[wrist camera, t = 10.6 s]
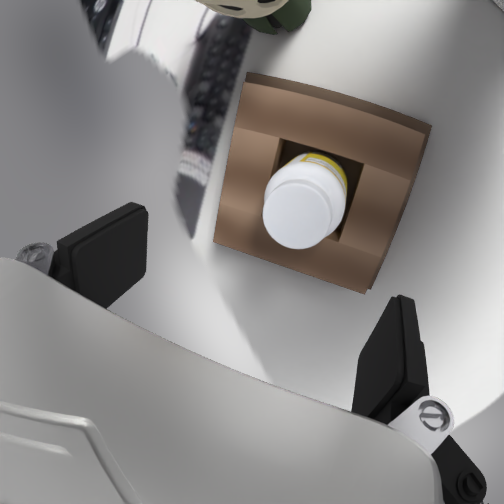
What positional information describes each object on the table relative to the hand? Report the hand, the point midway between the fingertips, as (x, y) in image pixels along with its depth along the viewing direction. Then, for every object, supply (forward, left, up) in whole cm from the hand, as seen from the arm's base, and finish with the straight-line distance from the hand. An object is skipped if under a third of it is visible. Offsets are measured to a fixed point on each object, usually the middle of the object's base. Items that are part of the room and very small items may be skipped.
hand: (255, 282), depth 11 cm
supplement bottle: (0, 0, -18) cm, 18 cm away
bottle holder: (0, 0, -18) cm, 18 cm away
